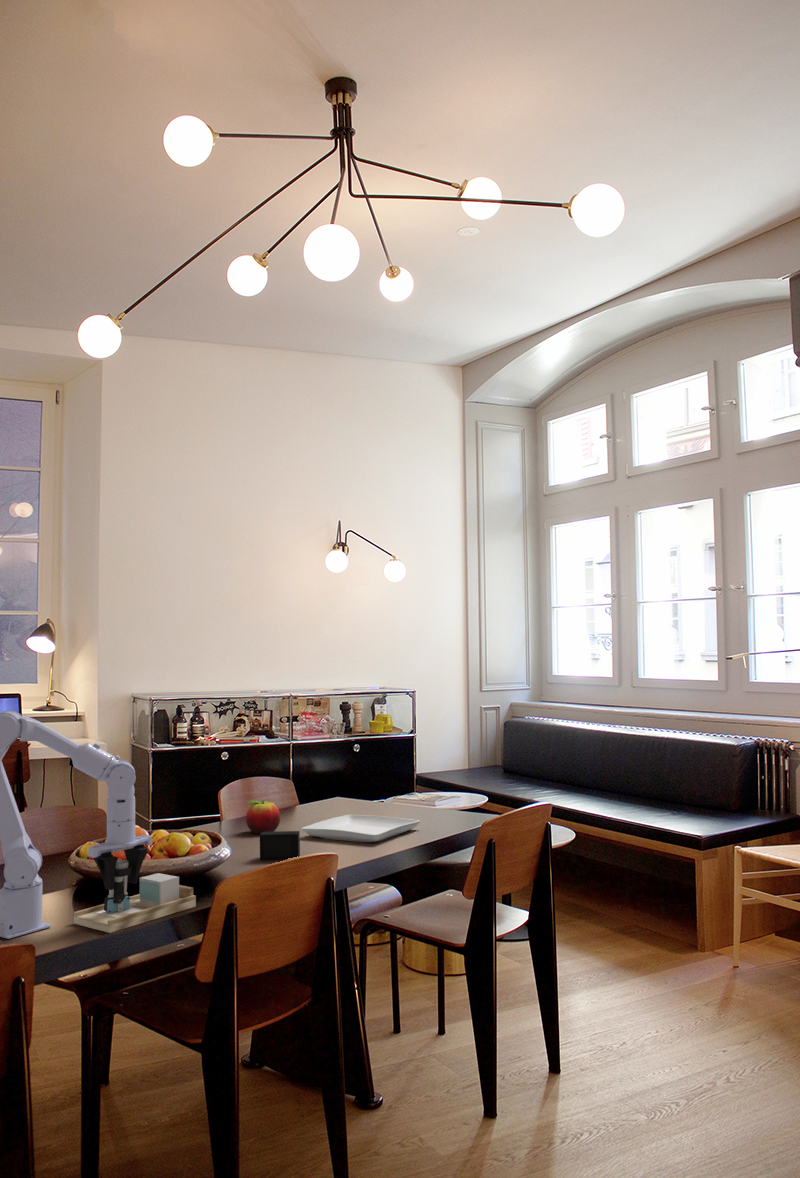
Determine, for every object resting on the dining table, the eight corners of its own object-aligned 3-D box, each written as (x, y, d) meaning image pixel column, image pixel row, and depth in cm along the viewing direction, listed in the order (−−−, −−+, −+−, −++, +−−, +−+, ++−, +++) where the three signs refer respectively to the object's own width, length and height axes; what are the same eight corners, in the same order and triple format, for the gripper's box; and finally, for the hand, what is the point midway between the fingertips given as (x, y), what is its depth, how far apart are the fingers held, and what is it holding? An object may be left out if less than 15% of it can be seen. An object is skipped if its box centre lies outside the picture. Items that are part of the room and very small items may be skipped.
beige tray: (110, 932, 174) (110, 912, 174) (73, 923, 181) (74, 904, 181) (195, 906, 192) (195, 888, 192) (159, 898, 199) (159, 881, 199)
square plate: (376, 847, 251) (376, 833, 251) (299, 840, 264) (298, 826, 264) (422, 830, 274) (421, 817, 274) (348, 824, 288) (348, 812, 288)
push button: (129, 903, 189) (131, 856, 189) (140, 910, 185) (143, 861, 185) (99, 909, 184) (101, 861, 185) (110, 916, 180) (112, 866, 181)
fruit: (277, 835, 270) (277, 802, 271) (242, 836, 270) (242, 803, 271) (283, 828, 281) (282, 796, 282) (249, 829, 281) (249, 797, 282)
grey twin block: (159, 906, 187) (159, 882, 188) (138, 901, 191) (138, 878, 192) (179, 900, 192) (179, 876, 192) (158, 896, 196) (158, 873, 196)
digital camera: (300, 855, 241) (300, 829, 241) (298, 860, 235) (298, 833, 236) (262, 856, 241) (262, 830, 241) (259, 861, 235) (259, 834, 236)
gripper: (103, 827, 177) (103, 896, 176) (161, 816, 189) (161, 880, 187) (82, 824, 181) (81, 892, 180) (140, 813, 193) (140, 876, 192)
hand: (121, 886), depth 184 cm, fingers closed on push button, 5 cm apart
